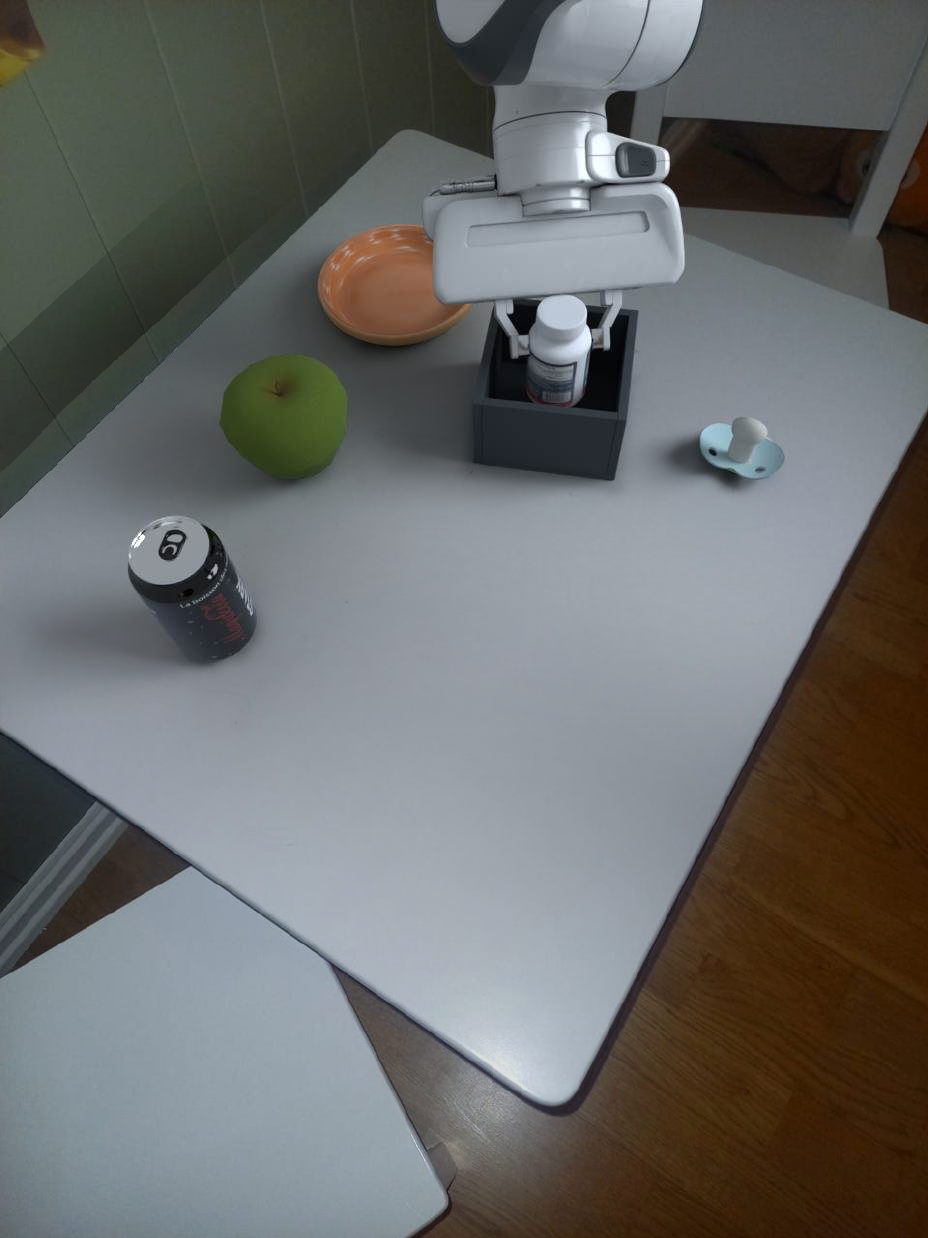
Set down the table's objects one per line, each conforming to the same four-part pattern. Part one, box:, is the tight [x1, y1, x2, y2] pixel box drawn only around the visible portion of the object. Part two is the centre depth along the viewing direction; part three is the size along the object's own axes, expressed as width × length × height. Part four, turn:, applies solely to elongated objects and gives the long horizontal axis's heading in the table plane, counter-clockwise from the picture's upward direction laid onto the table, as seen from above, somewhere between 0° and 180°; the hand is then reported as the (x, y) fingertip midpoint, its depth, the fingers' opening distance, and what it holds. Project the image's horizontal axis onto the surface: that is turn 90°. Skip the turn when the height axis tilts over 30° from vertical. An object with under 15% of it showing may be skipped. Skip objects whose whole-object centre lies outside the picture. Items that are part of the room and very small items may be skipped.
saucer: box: [317, 223, 474, 347], centre depth 84 cm, size 16×16×3 cm
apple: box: [219, 353, 349, 480], centre depth 72 cm, size 11×10×10 cm
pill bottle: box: [526, 294, 591, 407], centre depth 71 cm, size 5×5×9 cm
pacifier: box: [699, 416, 786, 481], centre depth 73 cm, size 7×6×6 cm
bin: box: [471, 298, 639, 481], centre depth 75 cm, size 13×13×8 cm
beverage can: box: [127, 515, 258, 663], centre depth 63 cm, size 7×7×12 cm
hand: (560, 354), depth 70 cm, fingers closed on pill bottle, 5 cm apart
